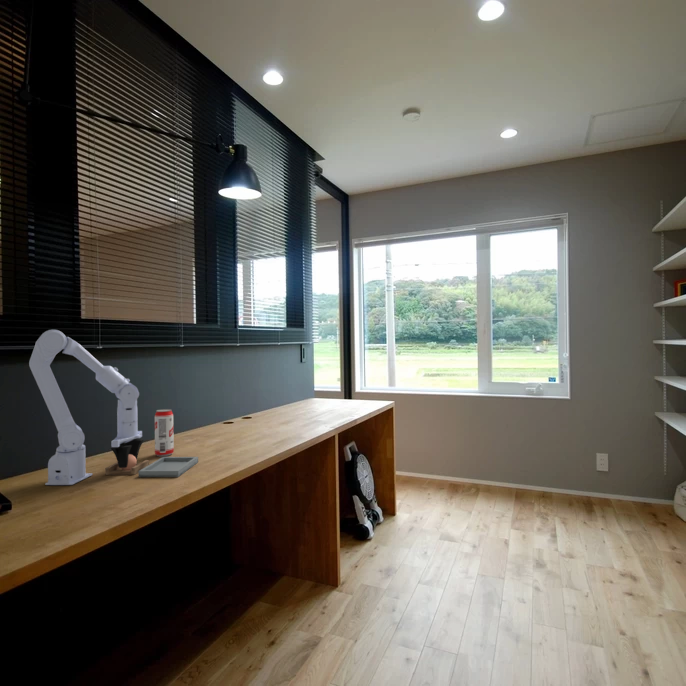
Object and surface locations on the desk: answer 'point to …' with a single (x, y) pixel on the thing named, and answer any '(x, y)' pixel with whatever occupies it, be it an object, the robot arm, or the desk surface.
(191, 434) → the desk surface
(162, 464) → the tray
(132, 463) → the ball
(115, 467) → the frame
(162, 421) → the beer can
